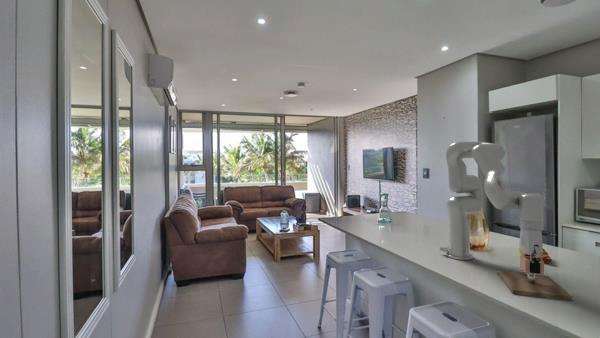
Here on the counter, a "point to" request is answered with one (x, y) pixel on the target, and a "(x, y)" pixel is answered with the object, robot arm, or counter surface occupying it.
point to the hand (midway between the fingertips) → (531, 269)
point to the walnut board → (534, 286)
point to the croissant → (543, 256)
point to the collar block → (526, 264)
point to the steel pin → (531, 278)
